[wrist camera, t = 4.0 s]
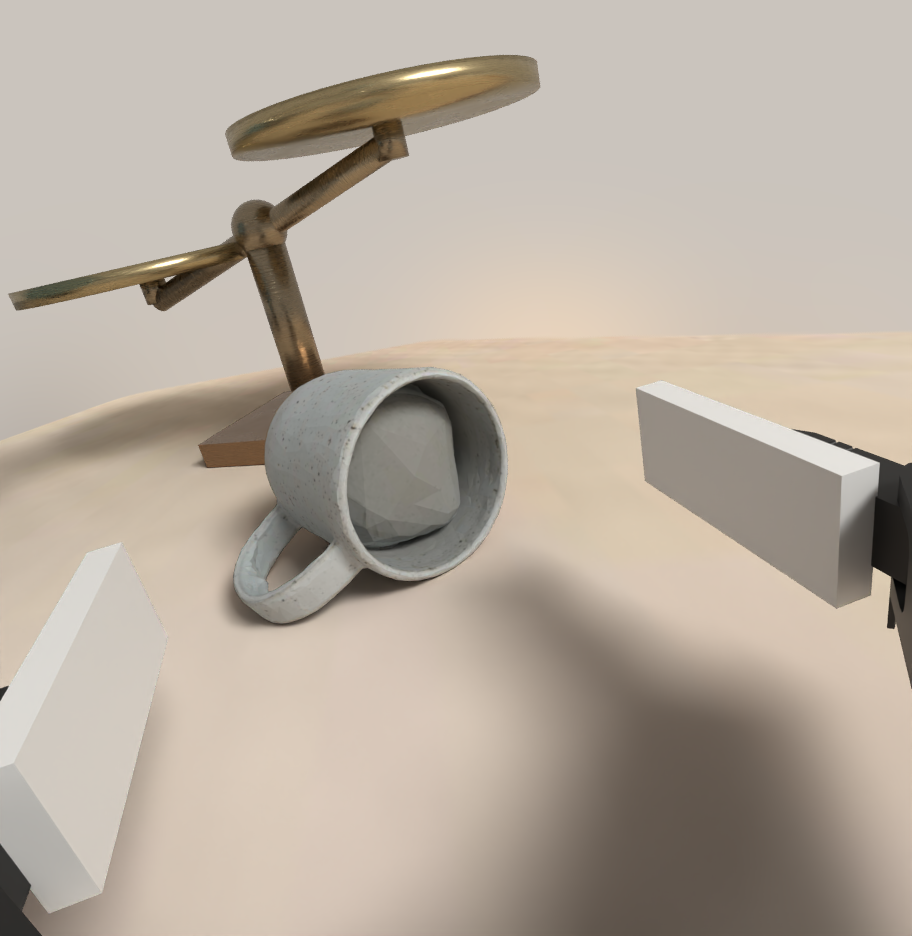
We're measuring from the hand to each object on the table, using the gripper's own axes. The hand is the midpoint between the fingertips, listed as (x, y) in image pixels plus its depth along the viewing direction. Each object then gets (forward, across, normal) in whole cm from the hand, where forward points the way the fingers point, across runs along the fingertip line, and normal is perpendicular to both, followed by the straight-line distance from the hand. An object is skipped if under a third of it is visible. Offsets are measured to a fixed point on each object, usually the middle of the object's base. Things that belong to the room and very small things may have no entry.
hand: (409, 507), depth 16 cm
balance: (+28, -2, -6) cm, 29 cm away
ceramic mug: (+9, -1, -6) cm, 11 cm away
